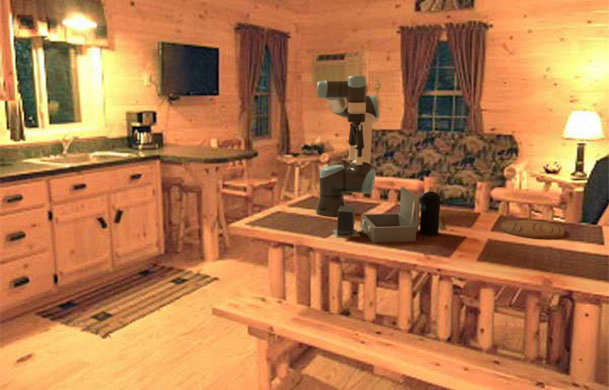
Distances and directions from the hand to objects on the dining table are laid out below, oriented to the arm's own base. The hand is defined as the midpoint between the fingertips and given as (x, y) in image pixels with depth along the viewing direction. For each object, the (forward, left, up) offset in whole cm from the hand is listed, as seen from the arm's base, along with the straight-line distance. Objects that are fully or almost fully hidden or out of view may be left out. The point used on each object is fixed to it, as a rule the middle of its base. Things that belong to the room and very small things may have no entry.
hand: (355, 162), depth 223 cm
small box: (+11, -6, -28) cm, 31 cm away
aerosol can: (+15, +29, -29) cm, 44 cm away
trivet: (+17, +74, -29) cm, 81 cm away
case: (+14, +11, -29) cm, 34 cm away
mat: (+11, -6, -29) cm, 31 cm away
